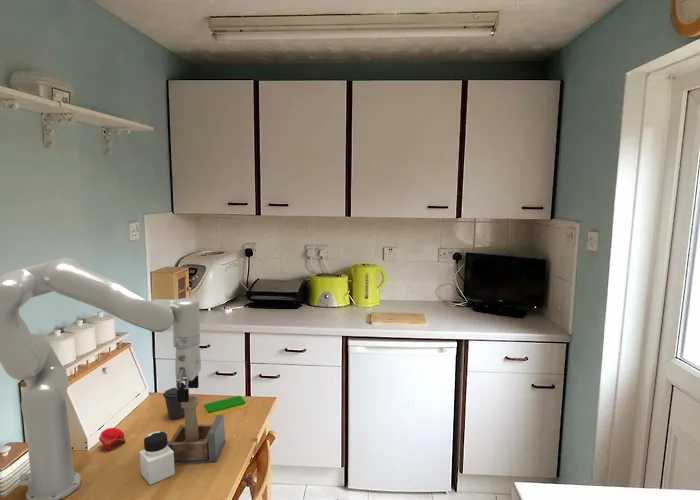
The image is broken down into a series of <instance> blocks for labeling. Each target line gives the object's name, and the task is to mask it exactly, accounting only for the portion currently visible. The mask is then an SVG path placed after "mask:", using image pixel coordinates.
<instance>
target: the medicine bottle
mask: <svg viewBox="0 0 700 500" xmlns="http://www.w3.org/2000/svg"><path fill="white" fill-rule="evenodd" d="M167 441H168V434H167V433H166V432H165V431H159V430H158V431H153V432H151V433H149V434H147V435H146V436H145V437H144V439H143V445H144V447H143V448H144V449H142V450H140V451H139V465H140V474H141V476H142V477H143V478H144V479H145V481H146V482H147V483H148V485H150V486H152V485H155V484H156V483H159V482H161V481H164V480H165V479H168V478H170V477H172V476H175V474H176V464H175V463H174V452H173V450H171V449H170V448H169V447H168V442H167Z"/></svg>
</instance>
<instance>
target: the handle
mask: <svg viewBox="0 0 700 500" xmlns="http://www.w3.org/2000/svg"><path fill="white" fill-rule="evenodd" d="M198 405H199V399H198V397H196V396H194V395H189V401H188V402H181V407H182V408H183V409H184V411H185V416H184V425H185V436H186V442H198V438H199V432H198V425H199V423H198V417H197V416H198V415H197V407H198Z"/></svg>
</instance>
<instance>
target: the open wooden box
mask: <svg viewBox="0 0 700 500" xmlns="http://www.w3.org/2000/svg"><path fill="white" fill-rule="evenodd" d="M212 425H213V423H207V424H205V423H204V424H198V432H199V438H198V442H186V436H185V424H180V425H179V426H178V427H177V430H176V431H175V433H174V434H173V436H172V437H171V439H170V440H169V441H170V442H169V443H168V447H169V448H170V449H171V450H173V452H174V461H192V460H208V458H209V448H208V433H209V431H210V429H211V427H212Z"/></svg>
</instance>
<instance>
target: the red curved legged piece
mask: <svg viewBox="0 0 700 500" xmlns="http://www.w3.org/2000/svg"><path fill="white" fill-rule="evenodd" d="M98 440H99V442H100V443H102V446H104V447H105V448H106V449H107V450H108V451H109V452H110V451H113V448H112V445H114V443H116V442H117V441H118V440H121V441H122V442H124V443H126V439H125V433H124V432H123V431H122V430H121V429H119V428H116V427H108V428H105V429H104V430H102V432H101V433H100V435H99V437H98Z"/></svg>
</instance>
